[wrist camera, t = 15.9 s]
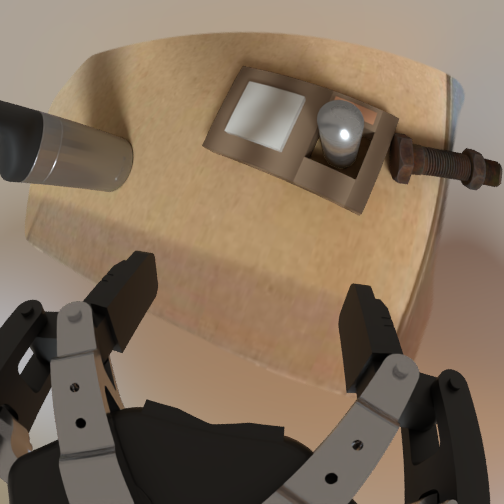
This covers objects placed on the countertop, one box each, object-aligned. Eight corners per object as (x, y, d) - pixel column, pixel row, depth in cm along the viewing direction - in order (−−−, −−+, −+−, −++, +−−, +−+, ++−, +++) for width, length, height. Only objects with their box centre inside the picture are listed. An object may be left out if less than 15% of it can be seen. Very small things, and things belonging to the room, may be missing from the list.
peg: (318, 160, 31) (309, 131, 21) (330, 131, 30) (326, 93, 20) (349, 174, 30) (354, 149, 20) (361, 144, 29) (370, 110, 19)
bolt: (484, 184, 26) (387, 170, 29) (490, 149, 23) (389, 130, 27) (504, 203, 21) (398, 187, 25) (513, 163, 18) (402, 140, 22)
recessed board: (212, 151, 34) (198, 143, 30) (250, 76, 32) (240, 62, 28) (359, 215, 30) (362, 213, 26) (394, 127, 27) (401, 115, 23)
